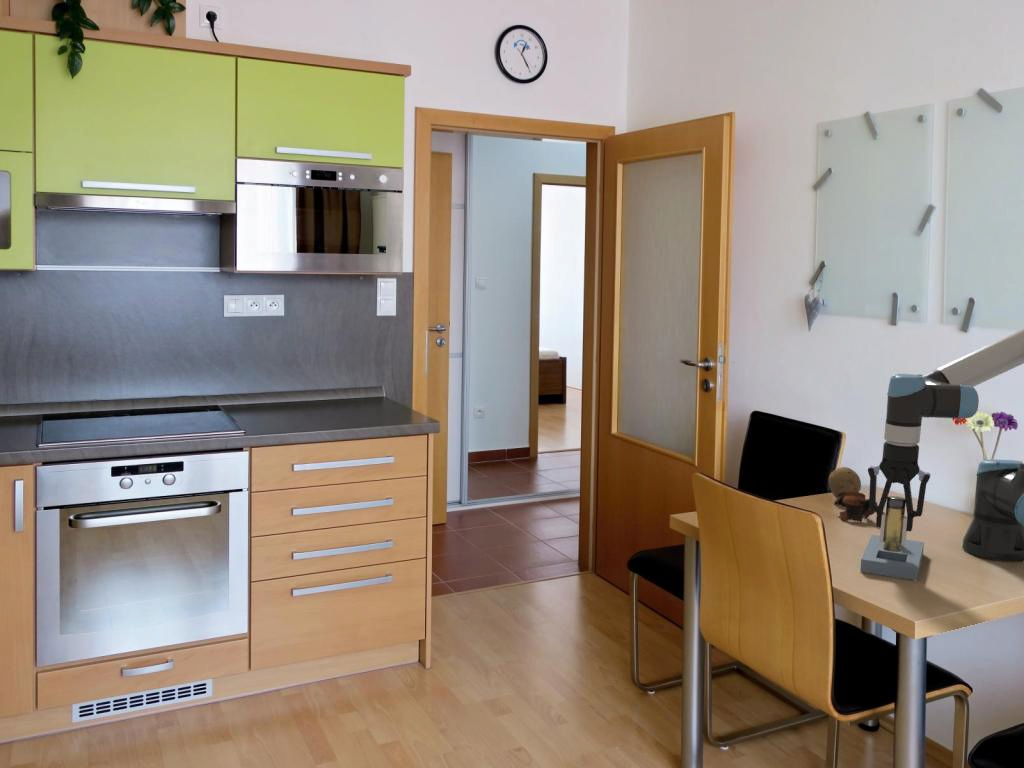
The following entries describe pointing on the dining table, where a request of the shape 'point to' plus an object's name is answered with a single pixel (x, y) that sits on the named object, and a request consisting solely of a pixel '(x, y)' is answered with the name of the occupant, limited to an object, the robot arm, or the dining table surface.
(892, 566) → the block
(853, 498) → the pottery mug
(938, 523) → the dining table surface
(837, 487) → the natural sponge
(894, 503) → the spice jar
